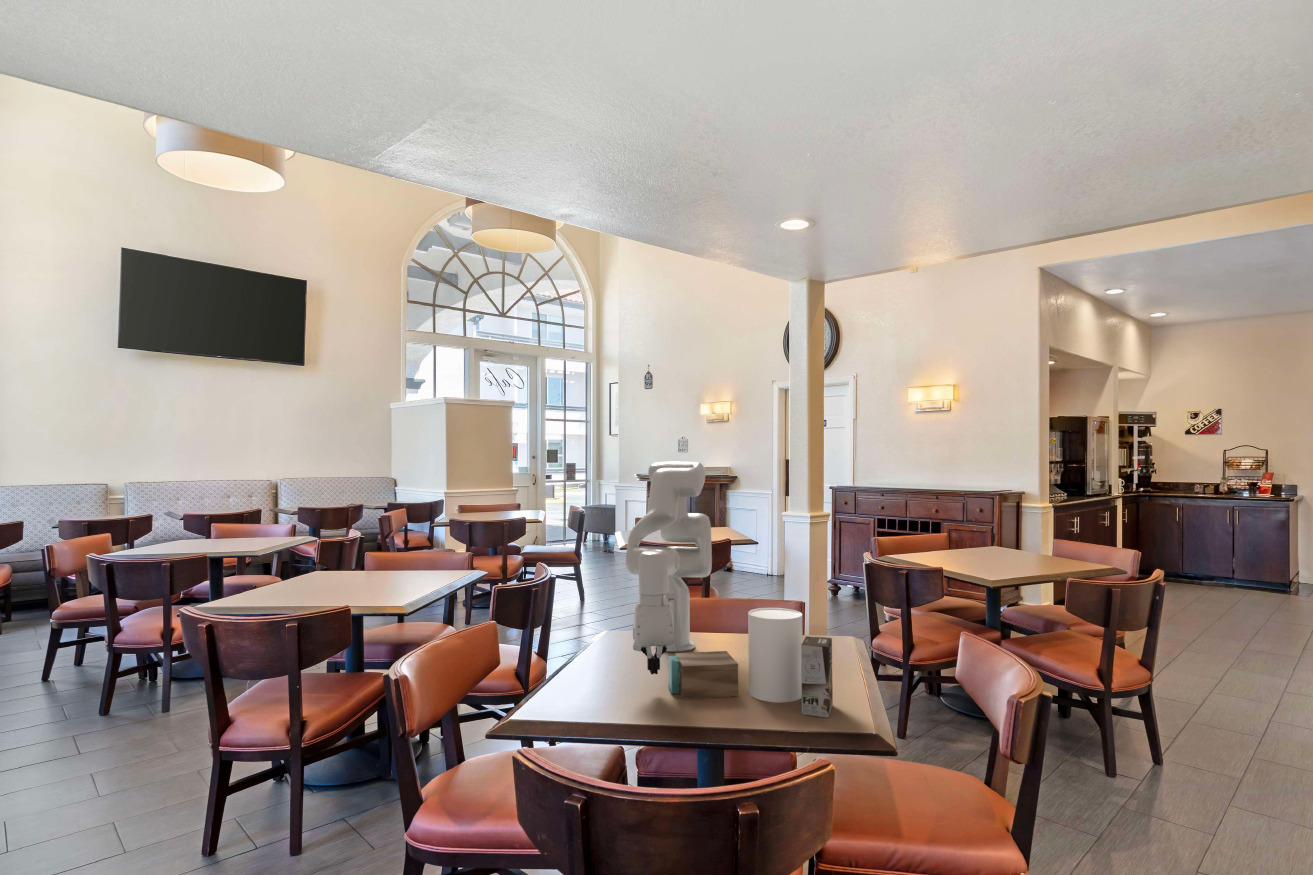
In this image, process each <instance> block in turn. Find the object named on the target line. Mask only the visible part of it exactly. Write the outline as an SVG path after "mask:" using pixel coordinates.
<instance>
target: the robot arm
mask: <svg viewBox="0 0 1313 875" xmlns="http://www.w3.org/2000/svg"><path fill="white" fill-rule="evenodd" d="M647 474H648V477H649V481H650V487H649V488H650V489H649V497H648V504H647V505H648V506H647V507H648V508H647V512H646V514H645V515H643V516H642V517H641V518H640V519H639V520H638V521H637V523H635V524H634V526H633V527H632V529H631V530H630V533H629V535H628V539H627V544H626V552H625V568H626V569H627V571H628V573H629V574H632V575H635V576H636V575H638V604H637V603H636V604H635V607H634V614H633V615H634V616H633V624H632V625H633V627H632V639H633V643H632V650H633V651H636V652H642V653H643V654H644V656H646V657H647V659H646V660H647V666H646V667H647V671H649V673H650V675H659V672H658V671H659V670H660V671H661V657H662V656H663V655H664V654H665V652H671V653H672V652H673V653H683V652H687V651H691V650H693V649H694V648H695V644H696V643H695V642H694V641H693V640H691V637H690V635H691V634H690V633H691V629H690V627H691V626H690V620H691V619H690V618H691V617H690V616H691V615H690V606H691V604H690V601H691V600H690V598H691V597H690V595H691V594H690V590H689V587H688V585H687V584H686V582H685V581H684V579H682V578H706V577H707V578H708V576H710V575H711V572H712V567H713V566H712V565H713V556H712V552H713V550H712V526H711V520H710V518H709V517H708V515H707V514H705V513H702V512H701V513H699V512H695V513H694V512H688V509H687V507H688V506H687V498H695V497H698V496H699V495H701V493H702V490H703V488H704V484H705V481H706V470H705V467H704V465H703V463H701V462H699V461H657V462H654V463H652V464H650V466H649V467H648V473H647ZM657 531H660V536H661V539H662V540H663V542H666V543H669V544H694V545H695V546H679V545H677V546H674V545H673V546H672V545H671V546H645V545H644V546H642V545H641V546H640V544H641V542H642V541H643V539H644V538H646V537H648V536H649V535H651V534H653V533H655V532H657ZM652 647H655V651H654V654H653V653H652V652H653V651H652Z"/></svg>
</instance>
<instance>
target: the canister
mask: <svg viewBox="0 0 1313 875" xmlns="http://www.w3.org/2000/svg"><path fill="white" fill-rule="evenodd" d="M747 613H748V614H747V618H748V619H747V622H748V624H747V625H748V626H747V629H748V630H747V633H748V634H747V636H748V642H747V643H748V646H747V647H748V694H749V695H750V696H751V697H752V698H755V699H757V700H760V701H763V702H770V703H790V702H795V701H798V700H802V681H801V644H802V643H803V641H804V640H803V639H804V638H803V613H802V612H800V611H798V610H795V609H792V608H791V609H789V608H784V607H782V608H781V607H759V608H754V609H750V610H749V611H748V612H747Z"/></svg>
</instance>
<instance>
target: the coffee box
mask: <svg viewBox="0 0 1313 875" xmlns="http://www.w3.org/2000/svg"><path fill="white" fill-rule="evenodd" d="M803 639H804V640H803V643H802V644H801V681H802V698H801V715H805V716H813V717H819V718H827V719H828V718H829V717H830V714H831V711H832V709H833V705H834V704H833V702H834V701H833V700H834V698H833V697H834V695H833V694H834V692H833V638H832V637H823V636H822V637H821V636H807V635H806V636H805V637H804V638H803Z"/></svg>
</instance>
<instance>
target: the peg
mask: <svg viewBox="0 0 1313 875" xmlns="http://www.w3.org/2000/svg"><path fill="white" fill-rule="evenodd" d="M667 659H668V662H667V664H668V665H667V666H668V673H667V674H668V676H667V678H668V680H667V681H668V690H669V691H670V693H671V694H672V695H674V694H680V667H679V660H678V658H677V656H675V655H668V658H667Z"/></svg>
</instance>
